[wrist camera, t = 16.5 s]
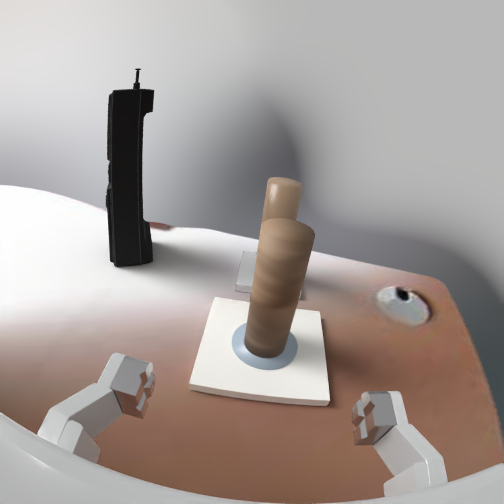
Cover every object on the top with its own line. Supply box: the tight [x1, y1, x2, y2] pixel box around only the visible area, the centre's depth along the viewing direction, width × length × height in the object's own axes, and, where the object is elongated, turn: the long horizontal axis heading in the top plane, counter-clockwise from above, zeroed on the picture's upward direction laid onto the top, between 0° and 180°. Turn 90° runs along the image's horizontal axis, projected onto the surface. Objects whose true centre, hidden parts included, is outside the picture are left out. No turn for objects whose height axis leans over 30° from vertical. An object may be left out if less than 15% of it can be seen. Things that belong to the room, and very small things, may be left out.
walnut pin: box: [244, 218, 315, 358], centre depth 25 cm, size 4×4×12 cm
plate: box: [189, 297, 330, 406], centre depth 28 cm, size 12×12×1 cm
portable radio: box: [106, 69, 154, 266], centre depth 34 cm, size 8×6×25 cm
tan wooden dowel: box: [235, 177, 303, 300], centre depth 36 cm, size 8×8×13 cm
